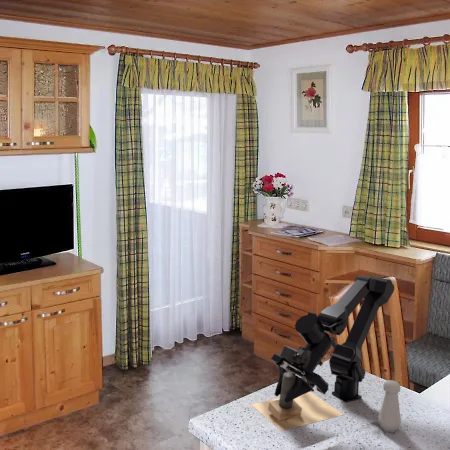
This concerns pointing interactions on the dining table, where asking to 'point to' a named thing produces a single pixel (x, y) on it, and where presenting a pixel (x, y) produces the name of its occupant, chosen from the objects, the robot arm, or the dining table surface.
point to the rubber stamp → (280, 407)
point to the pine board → (310, 413)
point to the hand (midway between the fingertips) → (280, 398)
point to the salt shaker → (390, 407)
